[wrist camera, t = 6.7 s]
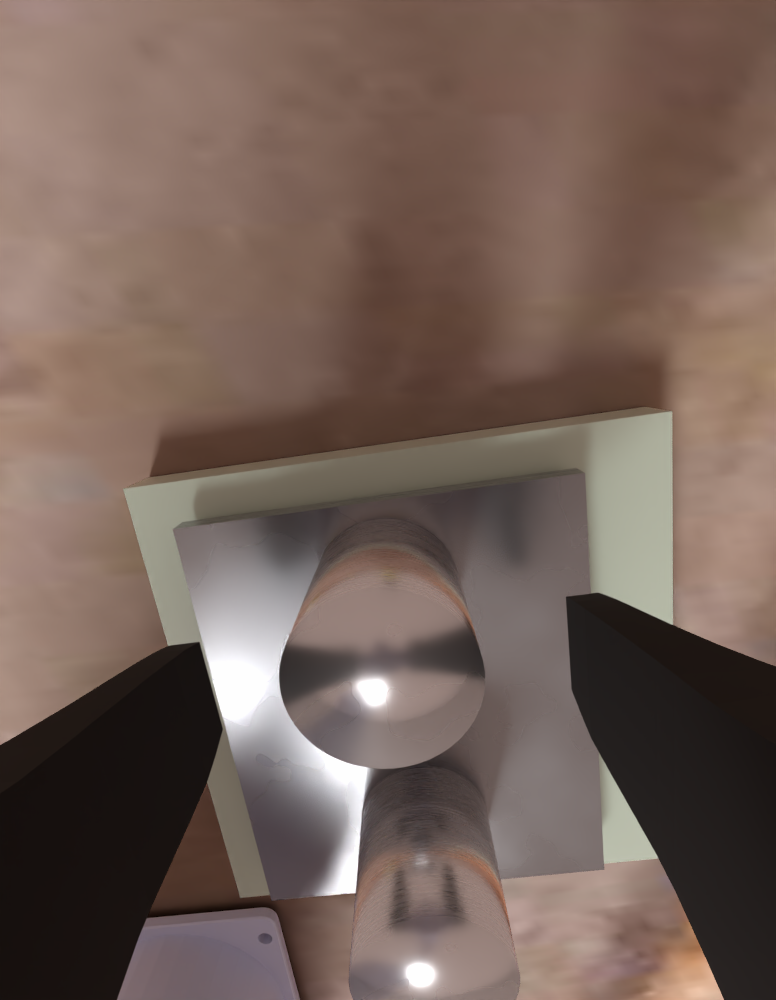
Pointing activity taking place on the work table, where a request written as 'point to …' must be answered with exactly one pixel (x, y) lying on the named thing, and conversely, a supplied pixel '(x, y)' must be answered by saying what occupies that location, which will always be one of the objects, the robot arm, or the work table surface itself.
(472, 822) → the cylinder
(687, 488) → the work table surface
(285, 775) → the scale platform
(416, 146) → the work table surface
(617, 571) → the scale
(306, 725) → the cylinder
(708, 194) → the work table surface
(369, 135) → the work table surface
